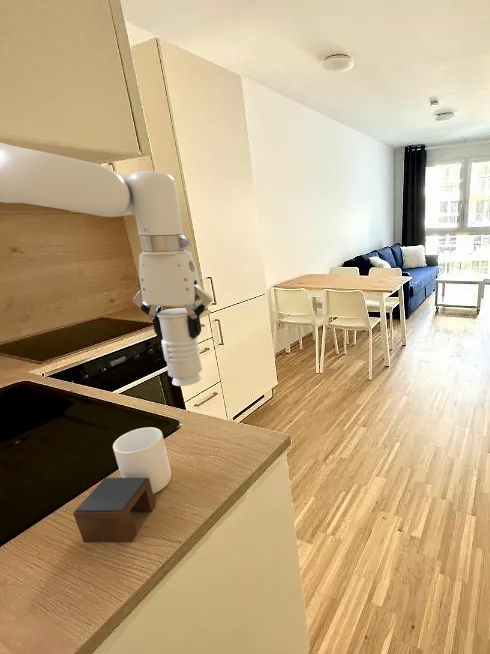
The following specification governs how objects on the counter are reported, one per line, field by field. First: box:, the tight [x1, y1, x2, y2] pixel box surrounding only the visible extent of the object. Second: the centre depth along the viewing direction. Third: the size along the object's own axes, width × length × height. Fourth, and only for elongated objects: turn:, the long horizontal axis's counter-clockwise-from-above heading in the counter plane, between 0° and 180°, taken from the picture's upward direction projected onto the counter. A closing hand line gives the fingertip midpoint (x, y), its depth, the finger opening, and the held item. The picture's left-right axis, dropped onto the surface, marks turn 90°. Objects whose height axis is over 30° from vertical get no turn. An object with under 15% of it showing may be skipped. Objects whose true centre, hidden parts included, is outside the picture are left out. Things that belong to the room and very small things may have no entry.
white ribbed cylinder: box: [157, 307, 203, 387], centre depth 74 cm, size 7×7×15 cm
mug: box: [112, 426, 172, 495], centre depth 71 cm, size 12×8×10 cm
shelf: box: [72, 477, 157, 543], centre depth 61 cm, size 8×8×6 cm
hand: (179, 335), depth 73 cm, fingers closed on white ribbed cylinder, 6 cm apart
